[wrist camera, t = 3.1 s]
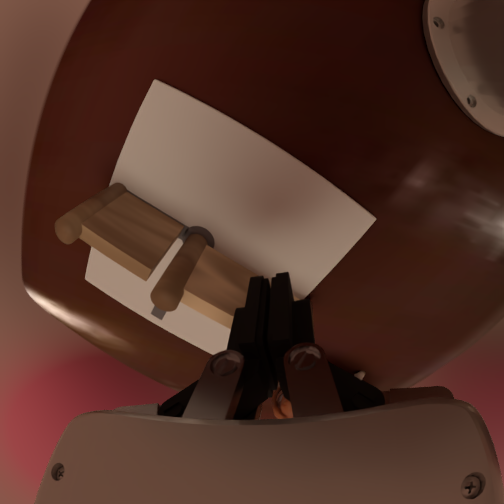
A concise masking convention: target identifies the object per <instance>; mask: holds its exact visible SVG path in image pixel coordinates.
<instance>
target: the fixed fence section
mask: <svg viewBox="0 0 504 504" xmlns="http://www.w3.org/2000/svg"><path fill="white" fill-rule="evenodd" d="M183 227H184V226H183V225H181V224H180V223H178V222H176V221H175V220H173V219H171V218H170V217H168V216H166V215H165V214H163V213H161V212H160V211H158V210H156V209H155V208H153V207H152V206H150V205H148V204H147V203H145V202H143V201H142V200H140V199H138V198H137V197H135V196H134V195H132V194H130V193H129V192H127V189H126V187H125V186H124V185H123V184H121V183H114V184H112V185H111V186H109V187H107V188H106V189H104V190H102V191H101V192H99V193H97V194H96V195H94V196H93V197H91V198H89V199H88V200H86V201H85V202H83V203H82V204H80V205H78V206H77V207H75V208H74V209H72V210H71V211H69V212H68V213H66V214H65V215H64V216H62V217H61V218H59V219H58V220H57V221H56V223H55V231H56V234H57V236H58V238H59V239H60V240H61V241H62V242H63V243H65V244H71V243H72V242H74V241H75V240H76V239H77V238H78V237H79V238H80V239H82V240H83V241H85V242H86V243H88V244H89V245H90V246H92V247H93V248H95V249H96V250H98V251H99V252H101V253H102V254H104V255H105V256H107V257H108V258H110V259H111V260H113V261H114V262H116V263H117V264H119V265H120V266H122V267H124V268H125V269H127V270H128V271H130V272H131V273H133V274H135V275H136V276H138V277H139V278H141V279H143V280H144V281H147V280H148V278H149V277H150V276H151V274H152V273H153V271H154V270H155V268H156V267H157V266H158V264H159V263H160V261H161V260H162V259H163V257H164V256H165V255H166V253H167V252H168V250H169V249H170V248H171V246H172V245H173V244H174V242H175V241H176V240H177V238H178V237H179V235H180V233H181V231H182V229H183Z"/></svg>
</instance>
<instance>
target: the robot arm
mask: <svg viewBox="0 0 504 504" xmlns="http://www.w3.org/2000/svg"><path fill="white" fill-rule="evenodd" d="M422 19H423V29H424V35H425V39H426V43H427V47H428V51H429V53H430V56H431V59H432V61H433V64H434V67H435V69H436V71H437V72H438V74H439V77H440V79H441V81H442V83H443V84H444V86H445V87H446V89H447V91H448V92H449V94H450V95H451V97H452V98H453V100H454V101H455V102H456V103H457V105H458V106H459V107H460V109H461V110H462V111H463V112H464V113H465V114H466V115H467V116H468V117H469V118H470V119H471V120H472V121H473V122H474V123H476V124H477V125H479V126H480V127H481V128H483V129H484V130H486V131H489V132H491V133H493V134H495V135H499V136H503V137H504V0H425V2H424V5H423V16H422ZM278 381H279V385H280V388H281V389H282V392H283V396H284V398H286V399H287V400H288V401H290V402H291V407H292V413H293V418H285V419H266V420H259V418H260V415H261V411H262V403H263V402H264V401H265V400H266V399H268V397H273V390H277V388H278ZM34 504H504V489H503V483H502V477H501V471H500V467H499V463H498V458H497V455H496V451H495V448H494V444H493V442H492V438H491V436H490V434H489V431H488V428H487V426H486V424H485V422H484V420H483V418H482V416H481V415H480V413H479V412H478V411H477V409H476V408H475V407H473V406H472V405H471V404H469V403H467V402H464V401H462V400H457V399H454V397H453V394H452V392H451V391H450V390H449V389H447V388H445V387H442V386H433V387H419V388H397V389H390V391H380V390H379V389H377V388H376V387H374V386H372V385H370V384H368V383H367V382H365V381H363V380H361V379H359V378H357V377H355V376H353V375H352V374H350V373H348V372H346V371H344V370H342V369H341V368H339V367H337V366H335V365H333V364H331V363H330V362H328V361H327V358H326V355H325V352H324V350H323V349H322V348H321V347H320V346H319V345H317V344H315V340H314V330H313V321H312V313H311V305H310V299H304V300H297V301H294V297H293V292H292V286H291V281H290V276H289V272H283V273H276V277H272V278H271V287H270V282H269V279H268V278H264V276H263V275H262V276H255V277H250V281H249V286H248V292H247V297H246V303H245V307H241V308H236V310H235V313H234V318H233V322H232V327H231V331H230V336H229V340H228V345H227V349H226V350H224V351H220V352H218V353H216V354H214V355H213V356H212V357H211V358H210V359H209V360H208V362H207V364H206V366H205V368H204V370H203V372H202V375H201V377H200V379H199V380H197V381H196V382H194V383H193V384H191V385H190V386H188V387H187V388H185V389H184V390H182V391H181V392H179V393H178V394H176V395H174V396H173V397H171V398H170V399H168V400H167V401H165V402H164V403H163V404H162V405H159V404H158V403H156V404H147V405H136V406H124V407H118V408H116V409H114V410H100V411H93V412H87V413H83V414H81V415H78V416H77V417H75V418H74V419H73V420H72V421H71V422H70V423H69V424H68V426H67V427H66V429H65V430H64V432H63V434H62V435H61V437H60V439H59V441H58V443H57V445H56V447H55V449H54V452H53V454H52V456H51V458H50V461H49V463H48V466H47V468H46V471H45V474H44V476H43V479H42V482H41V484H40V487H39V490H38V493H37V496H36V500H35V503H34Z"/></svg>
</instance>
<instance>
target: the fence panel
mask: <svg viewBox="0 0 504 504" xmlns="http://www.w3.org/2000/svg"><path fill="white" fill-rule="evenodd" d="M255 276H259V275H257V274H255V273H254V272H252V271H250V270H248V269H247V268H245V267H243V266H242V265H240V264H238V263H237V262H235V261H233V260H231V259H230V258H228V257H226V256H225V255H223V254H221V253H220V252H218V251H216V250H215V249H213V248H211V247H210V246H208V244H207V241H206V239H205V238H204V237H203V236H201V235H199V234H191V235H189V236H188V237H187V239H186V240H185V242H184V243H183V245H182V246H181V247H180V249H179V250H178V252H177V253H176V255H175V256H174V258H173V259H172V261H171V262H170V264H169V265H168V267H167V268H166V270H165V271H164V273H163V274H162V276H161V277H160V279H159V281H158V282H157V284H156V285H155V287H154V288H153V290H152V292H151V294H150V298H151V301H152V303H153V304H154V305H155V306H156V307H157V308H159V309H160V310H163V311H167V312H171V311H174V310H176V309H177V307H178V305H179V303H180V302H181V303H183V304H185V305H187V306H188V307H190V308H192V309H194V310H196V311H197V312H199V313H201V314H203V315H205V316H206V317H208V318H210V319H212V320H214V321H216V322H218V323H219V324H221V325H223V326H225V327H227V328H229V329H231V327H232V322H233V318H234V313H235V310H236V308H241V307H245V303H246V297H247V292H248V286H249V281H250V277H255ZM270 287H271V282H270ZM293 297H294V301H297V300H304V299H298V298H297V297H295V296H293ZM310 305H311V313H312V321H313V307H312V303H311V301H310ZM313 330H314V322H313ZM314 340H315V339H314Z"/></svg>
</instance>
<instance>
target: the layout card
mask: <svg viewBox="0 0 504 504" xmlns="http://www.w3.org/2000/svg"><path fill="white" fill-rule="evenodd" d="M114 183H121V184H123V185H124V186H125V187H126V189H127V192H129V193H130V194H132V195H134V196H135V197H137V198H138V199H140V200H142V201H143V202H145V203H147V204H148V205H150V206H152V207H153V208H155V209H156V210H158V211H160V212H161V213H163V214H165V215H166V216H168V217H170V218H171V219H173V220H175V221H176V222H178V223H180V224H181V225H183V226H184V227H183V229H182V231H181V233H180V235H179V237H178V238H177V240H176V241H175V242H174V244H173V245H172V246H171V248H170V249H169V250H168V252H167V253H166V255H165V256H164V257H163V259H162V260H161V261H160V263H159V264H158V266H157V267H156V268H155V270H154V271H153V273H152V274H151V276H150V277H149V278H148V280H147V281H144V280H143V279H141V278H139V277H138V276H136V275H135V274H133V273H131V272H130V271H128V270H127V269H125V268H124V267H122V266H120V265H119V264H117V263H116V262H114V261H113V260H111V259H110V258H108V257H107V256H105V255H104V254H102V253H101V252H99V251H98V250H96V249H95V248H93V247H91V252H90V256H89V261H88V265H87V270H86V275H85V279H86V280H87V281H89V282H90V283H91V284H93V285H94V286H96V287H97V288H99V289H100V290H102V291H103V292H105V293H106V294H108V295H109V296H111V297H112V298H114V299H115V300H117V301H119V302H120V303H122V304H123V305H125V306H127V307H128V308H130V309H131V310H133V311H135V312H136V313H138V314H140V315H141V316H143V317H145V318H146V319H148V320H150V321H151V322H153V323H155V324H157V325H158V326H160V327H162V328H164V329H165V330H167V331H169V332H171V333H173V334H174V335H176V336H178V337H180V338H182V339H184V340H185V341H187V342H189V343H191V344H193V345H195V346H197V347H199V348H201V349H203V350H205V351H207V352H209V353H211V354H213V355H214V354H216V353H218V352H220V351H224V350H226V349H227V345H228V340H229V336H230V331H231V329H229V328H227V327H225V326H223V325H221V324H219V323H218V322H216V321H214V320H212V319H210V318H208V317H206V316H205V315H203V314H201V313H199V312H197V311H196V310H194V309H192V308H190V307H188V306H187V305H185V304H183V303H181V302H180V303H179V305H178V307H177V309H176V310H174V311H171V312H167V311H163V310H160V309H159V308H157V307H156V306H155V305H154V304H153V303H152V301H151V298H150V294H151V292H152V290H153V288H154V287H155V285H156V284H157V282H158V281H159V279H160V277H161V276H162V274H163V273H164V271H165V270H166V268H167V267H168V265H169V264H170V262H171V261H172V259H173V258H174V256H175V255H176V253H177V252H178V250H179V249H180V247H181V246H182V245H183V243H184V242H185V240H186V239H187V237H188V236H189V235H191V234H199V235H201V236H203V237H204V238H205V239H206V241H207V244H208V246H210V247H211V248H213V249H215V250H216V251H218V252H220V253H221V254H223V255H225V256H226V257H228V258H230V259H231V260H233V261H235V262H237V263H238V264H240V265H242V266H243V267H245V268H247V269H248V270H250V271H252V272H254V273H255V274H257V275H259V276H262V275H263V276H264V278H268V279H269V282H271V278H272V277H276V273H283V272H289V276H290V281H291V286H292V292H293V296H295V297H297V298H298V299H304V298H305V297H306V296H307V295H308V294H309V293H310V292H311V291H312V290H313V289H314V288H315V287H316V286H317V285H318V284H319V283H320V282H321V280H322V279H323V278H324V277H325V276H326V275H327V274H328V273H329V272H330V271H331V270H332V269H333V268H334V267H335V266H336V264H337V263H338V262H339V261H340V260H341V259H342V258H343V257H344V256H345V255H346V253H347V252H348V251H349V250H350V249H351V248H352V247H353V246H354V245H355V243H356V242H357V241H358V240H359V239H360V238H361V237H362V235H363V234H364V233H365V232H366V231H367V230H368V229H369V227H370V226H371V225H372V224H373V223H374V222H375V220H376V218H375V217H374V216H373V215H372V214H371V213H370V212H368V211H367V210H366V209H365V208H363V207H362V206H361V205H360V204H358V203H357V202H356V201H354V200H353V199H352V198H351V197H349V196H348V195H347V194H345V193H344V192H343V191H341V190H340V189H339V188H337V187H336V186H335V185H333V184H332V183H331V182H329V181H328V180H326V179H325V178H324V177H322V176H321V175H319V174H318V173H317V172H315V171H314V170H312V169H311V168H310V167H308V166H307V165H305V164H304V163H302V162H301V161H299V160H298V159H296V158H295V157H293V156H292V155H290V154H289V153H287V152H286V151H284V150H283V149H281V148H280V147H278V146H277V145H275V144H274V143H272V142H270V141H269V140H267V139H266V138H264V137H262V136H261V135H259V134H258V133H256V132H254V131H253V130H251V129H249V128H248V127H246V126H244V125H243V124H241V123H239V122H237V121H236V120H234V119H232V118H231V117H229V116H227V115H225V114H223V113H222V112H220V111H218V110H216V109H214V108H213V107H211V106H209V105H207V104H205V103H203V102H201V101H199V100H198V99H196V98H194V97H192V96H190V95H188V94H186V93H184V92H182V91H180V90H178V89H176V88H174V87H172V86H170V85H168V84H165V83H163V82H161V81H159V80H156V79H154V81H153V83H152V85H151V87H150V89H149V91H148V93H147V95H146V97H145V99H144V101H143V103H142V105H141V107H140V109H139V112H138V114H137V116H136V118H135V120H134V123H133V125H132V127H131V129H130V132H129V134H128V137H127V139H126V141H125V144H124V146H123V149H122V151H121V154H120V157H119V159H118V162H117V165H116V167H115V170H114V173H113V176H112V179H111V181H110V184H109V186H111V185H112V184H114Z"/></svg>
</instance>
